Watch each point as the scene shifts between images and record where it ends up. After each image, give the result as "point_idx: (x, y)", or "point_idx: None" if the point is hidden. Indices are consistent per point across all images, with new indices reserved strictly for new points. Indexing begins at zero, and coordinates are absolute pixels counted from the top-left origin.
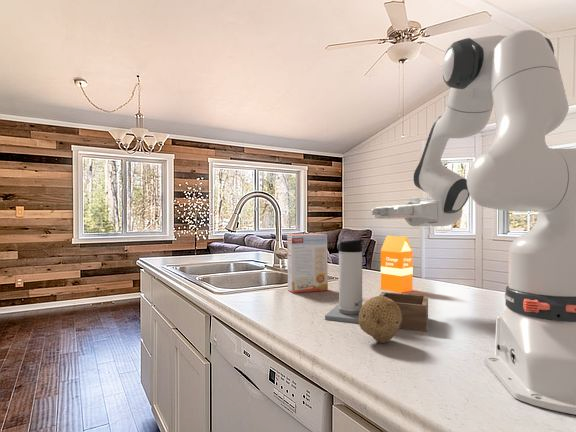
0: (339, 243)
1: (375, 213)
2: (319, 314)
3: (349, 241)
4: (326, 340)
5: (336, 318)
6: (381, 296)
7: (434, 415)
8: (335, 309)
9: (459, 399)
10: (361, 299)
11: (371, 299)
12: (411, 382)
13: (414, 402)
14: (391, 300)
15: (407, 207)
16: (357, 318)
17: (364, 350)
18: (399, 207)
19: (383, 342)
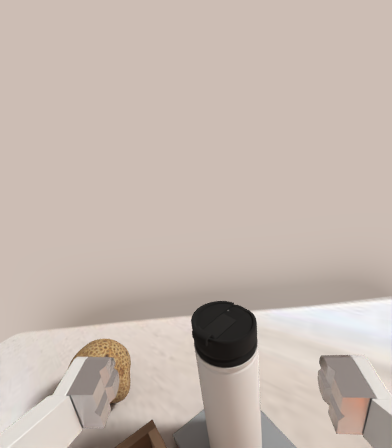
0: (239, 306)
1: (318, 381)
2: (269, 397)
3: (250, 331)
4: (161, 345)
5: None
6: (90, 348)
7: (22, 336)
8: (268, 428)
9: (3, 363)
10: (210, 439)
11: (103, 340)
12: (45, 353)
13: (38, 336)
14: None
15: (10, 428)
16: (191, 425)
17: None
18: (72, 364)
19: None
